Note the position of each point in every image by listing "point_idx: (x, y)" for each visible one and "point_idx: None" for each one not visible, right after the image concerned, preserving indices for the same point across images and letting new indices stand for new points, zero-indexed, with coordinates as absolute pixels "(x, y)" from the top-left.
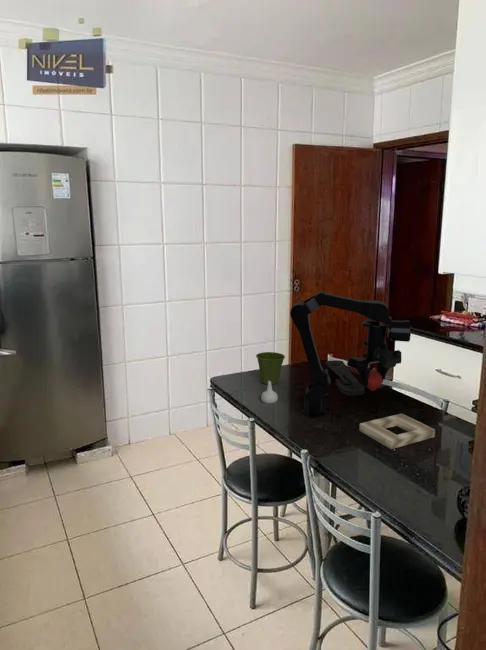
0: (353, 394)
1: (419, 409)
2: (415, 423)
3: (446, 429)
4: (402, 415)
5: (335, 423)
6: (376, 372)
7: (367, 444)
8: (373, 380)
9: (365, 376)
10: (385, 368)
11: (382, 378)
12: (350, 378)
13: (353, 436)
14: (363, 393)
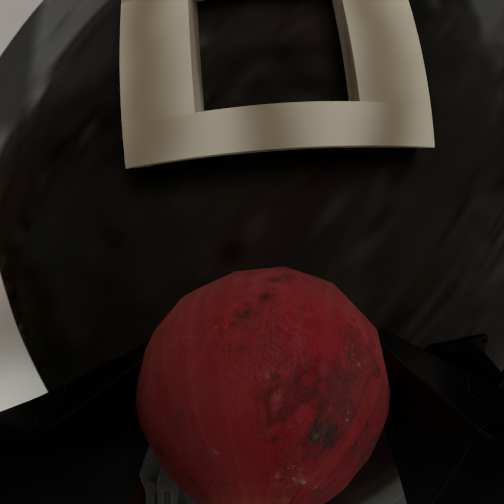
0: None
1: (24, 243)
2: (150, 37)
3: (51, 48)
4: (139, 142)
5: (453, 261)
6: (245, 465)
7: (448, 40)
8: (357, 330)
9: (492, 394)
10: (19, 454)
11: (128, 368)
12: (175, 501)
13: (464, 119)
14: None
